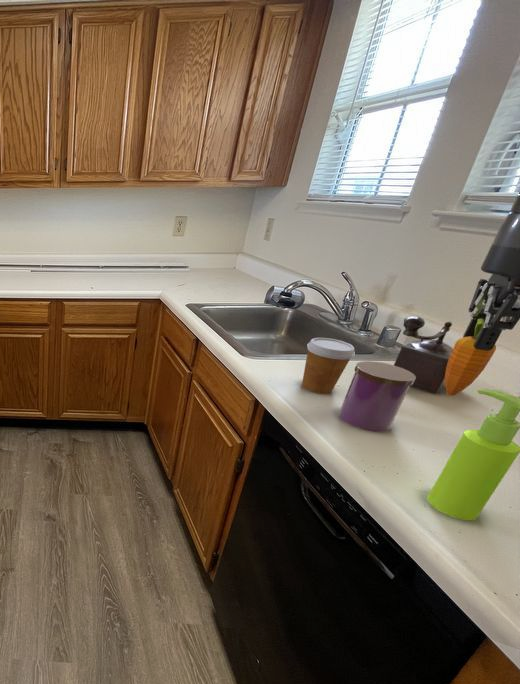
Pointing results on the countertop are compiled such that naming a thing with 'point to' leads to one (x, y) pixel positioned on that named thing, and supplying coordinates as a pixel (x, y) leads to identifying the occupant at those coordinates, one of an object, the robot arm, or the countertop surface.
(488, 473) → the soap dispenser
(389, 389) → the jar
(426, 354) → the brown manual coffee grinder
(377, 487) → the countertop surface
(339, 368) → the disposable coffee cup
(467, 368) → the carrot
